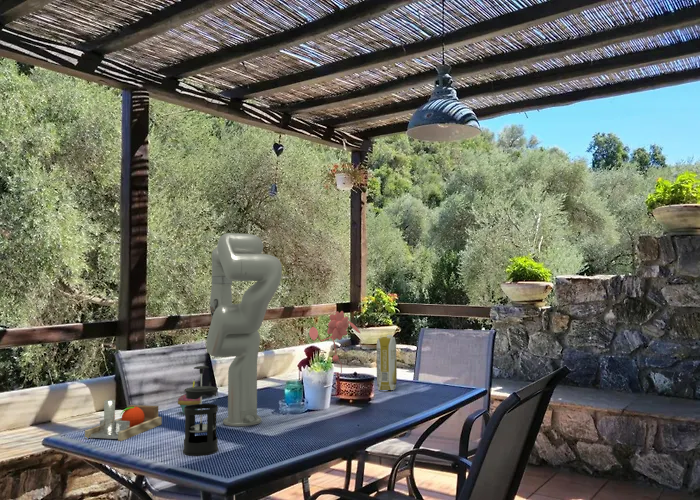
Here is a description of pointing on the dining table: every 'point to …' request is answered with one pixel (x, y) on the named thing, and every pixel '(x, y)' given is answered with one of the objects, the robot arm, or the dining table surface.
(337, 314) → the pink artificial flower
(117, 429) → the press jaw
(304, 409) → the dining table surface
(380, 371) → the juice carton
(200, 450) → the french press
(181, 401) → the cupcake
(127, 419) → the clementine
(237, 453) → the dining table surface
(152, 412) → the wooden tray
